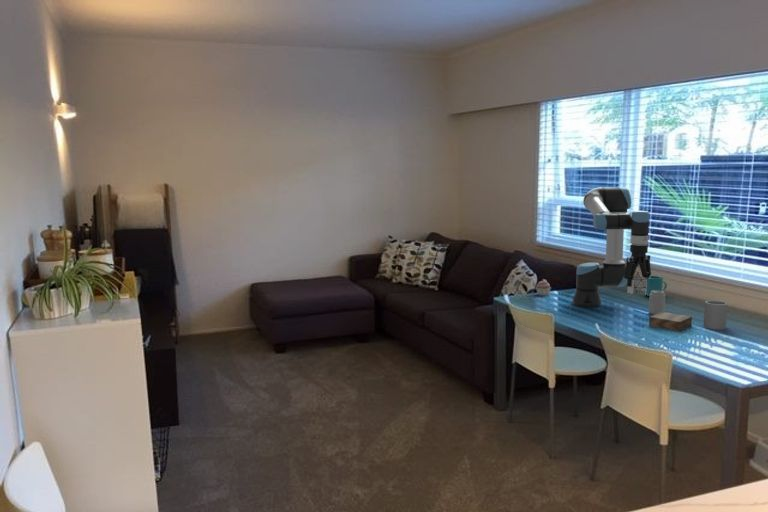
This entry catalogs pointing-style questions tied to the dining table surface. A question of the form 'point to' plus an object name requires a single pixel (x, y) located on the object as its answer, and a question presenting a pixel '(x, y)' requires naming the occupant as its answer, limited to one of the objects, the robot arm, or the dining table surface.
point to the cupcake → (543, 288)
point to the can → (656, 302)
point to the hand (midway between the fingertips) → (636, 292)
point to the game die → (639, 282)
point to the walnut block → (670, 321)
